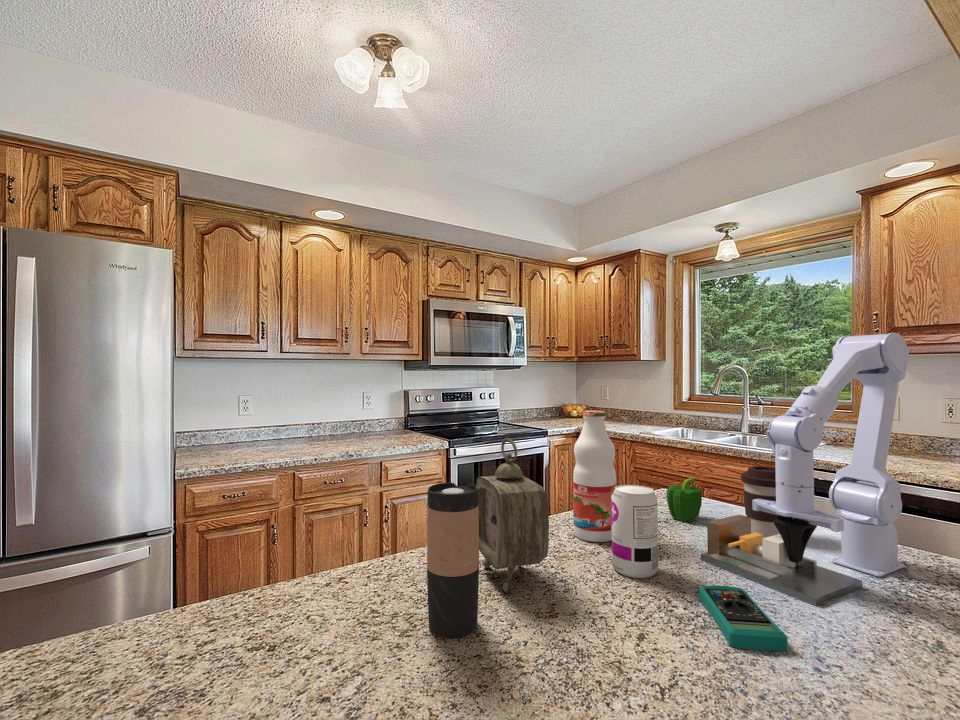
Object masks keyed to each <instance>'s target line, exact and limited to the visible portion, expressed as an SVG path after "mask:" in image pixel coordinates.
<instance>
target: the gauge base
mask: <svg viewBox="0 0 960 720" xmlns="http://www.w3.org/2000/svg"><path fill="white" fill-rule="evenodd" d="M706 524H707V525H706V526H707V527H706V529H707V532H706V533H707V536H706V537H707V543H706V544H707V552H703V553H700V561H703V562H704V561H705V562H704V563H707V564H709V563H710V565H713V566H714V567H716V568H719V567H720V569H723V570H724V569H725V571H727V572H729V571H730V573H732V572H733V573H732V574H734V573H735V575H737V576H739V575H740V576H739V577H742V578H744V577H745V579H747V578H748V579H747V580H749V579H751V580H750V581H752V580H753V581H752V582H754V581H756V582H755V583H757V582H758V583H757V584H759V583H761V584H760V585H762V584H763V585H762V586H764V585H765V587H767V588H769V587H770V588H769V589H772V588H773V589H772V590H774V589H775V591H777V590H778V591H777V592H779V591H780V593H782V592H783V593H782V594H784V593H785V595H787V594H788V595H787V596H789V595H790V597H792V596H793V597H792V598H794V597H795V598H794V599H797V600H799V599H800V601H802V602H804V603H807V604H810V605H812V606H814V607H818V606H820V605H822V604H825V603H827V602H830V601H832V600H835V599H838V598H840V597H843V596H845V595H847V594H851V593H853V592H855V591H858V590H860V589H863V579H859V578H856V577H852V576H850V575H846V574H843V573H840V572H838V571H834V570H832V569H828V568H826V567H823V566H820V565H817V564H818V561H816V560H814V559H810V558H808V557H806V556H803V559H802V561H801V562H797V563H796V567H790V566H787V565H784V564H781V563H778V562H776V561H773V560H770V559H767V558H764V557H761V556H758V555H755V554H753V553H750V552H747V551H744V550H741V549H740V545H738V546H735V547H728V544H729V543H733V542H737V541H740V540H739V537H740V536H744V535H748V534H751V518H750V517H747V516H746V515H743V514H736V515H732V516H727V517H722V518H717V519H713V520H709V521H707V522H706ZM817 605H818V606H817Z"/></svg>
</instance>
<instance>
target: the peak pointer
mask: <svg viewBox="0 0 960 720" xmlns="http://www.w3.org/2000/svg"><path fill="white" fill-rule="evenodd" d="M762 538H763V534H759V533H756V532H755V533H752V534H748V535H744V536H740V537H739V540H740V541H737V542H733V543H729V544H728V547H735V546H738V545H740V549H741V550H744V551H747V552H750V553H752V548H753V546H754V545H755V544H757V545H760V546H762Z"/></svg>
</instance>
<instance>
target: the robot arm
mask: <svg viewBox="0 0 960 720" xmlns="http://www.w3.org/2000/svg"><path fill="white" fill-rule="evenodd" d="M909 354H910V349H909V347H908V345H907V343H906V340H905V339H904V338H903V336H902V335H900V334H899V333H897V332H889V333H882V334H881V333H880V334H866V335H865V334H863V335H843V336H840V337H839V338H838V339H837V340H836V342H835V344H834V345H833V346H832V357H833V359H832V360H831V362H830V363H829V365H828V366H827V368H826V370H825V371H824V373H823V374H822V375H821V377H820V379H819V381H818V382H817V384H816V385H810V386H806V387H804V388H803V389H802V390H801V394H799V396H798V397H797V398H796V399H795V401H794V402H793V403H792V404H791V406H790V407H789V409H788V410H786V412H785V413H784V415H783V414H782V415H778V416H776V417H775V418H773V419H772V420H771V421H770V422H769V425H768V429H767V430H766V436H767V439H768V441H769V443H770V445H771V453H772V454H773V456H774V457H775V462H774V463H775V465H774V466H775V467H774V468H776V502H775V501H768V500H763V499H754V500H752V509H753V510H755V511H763V512H767V513H771V514H774V515H778V517H777V519H775V520H774V525H775V526H776V528H777V529H778V531H779V533H780V535H781V537H782V539H783V542H784V544H785V547H786V550H787V554H788V557H789V561H791V562H794V563H797V562H801V561H802V559H803V557H804V554H805V551H806V547H807V545H808V542H809V540H810V538H811V537H812V535H813V533H814V531H815V530H816V529H817V527H821V528H825V529H828V530H830V531H831V532H835V533H840V537H841V538H840V539H841V541H840V544H841V545H840V546H841V547H840V550H841V551H840V552H841V555H840V556H837V557H833V558H832V559H830V560H831V563H833V564H837V565H840V566H844V567H847V568H848V569H849V568H850V569H853V570H855V571H859V572H862V573H865V574H869V575H872V576H875V577H878V578H879V577H883V576H887V575H888V574H890V573H893V572H896V571H898V570H901V569H904V568H905V564H903V563H900V562H899V555H898V554H899V552H898V551H899V548H898V546H899V545H898V541H899V539H898V530H897V529H896V527H895V525H894V523H895V521H896V520H897V519H899V517H900V515H902V510H903V502H902V497H901V494H902V493H901V490H902V485H901V484H900V482H899V481H898V480H896V479H895V478H894V477H893V476H892V475H891V474H890V473H889V472H887V470H886V468H887V463H888V456H889V449H890V443H891V437H892V430H893V424H894V418H895V417H894V416H895V410H896V406H897V405H896V404H897V398H898V392H899V385H900V382H901V381H903V380H905V377H906V372H907V367H908V360H909ZM852 379H854V380H855V381H856V380H857V381H859V382H860V383H861V384H862V385H863V389H862V395H861V401H860V407H859V411H858V412H859V413H858V418H857V424H856V425H857V426H856V432H855V436H854V443H853V450H852V455H851V461H850V464H848V465H846V466H844V467H842V468H840V469H838V470H836V473H835V478H834V480H833V482H832V484H831V485H830V487H829V490H828V497H829V498H828V499H829V501H830V504H831V507H833V508H834V510H836V515H838V516H840V517H838V516H834V515H831V514H828V513H826V512H823V511H819V510H817V509H815V479H814V478H815V477H814V475H815V472H814V471H815V470H814V450H816V449H817V448H818V447H819V446H820V445H821V444H822V439H823V432H824V431H825V428H826V427H825V424H826V422H827V421H828V420H829V418H830V417H831V415H832V414H833V413H834V412H835V410H836V409H837V408H838V406H839V400H838V397H837V396H838V395H839V394H840V392H841V391H842V390H844V388H845V387H846V386H847V385H848V384H849V383H850V382H851V381H852ZM863 482H865V483H863ZM868 483H870V484H868ZM872 484H873V485H872ZM874 484H875V485H874Z"/></svg>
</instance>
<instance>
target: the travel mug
mask: <svg viewBox="0 0 960 720" xmlns="http://www.w3.org/2000/svg"><path fill="white" fill-rule="evenodd" d="M426 507H427V515H426V516H427V518H426V520H427V521H426V523H427V524H426V526H427V527H426V533H427V534H426V578H427V579H426V582H427V584H426V585H427V588H426V589H427V615H428V616H427V618H428V629H429V630H430V632H431V633H432V634H434V635H435V636H438V637H440V638H443V639H444V638H445V639H460V638H465V637H467V636H469V635H471V634H472V633H474V632H475V631H476V629H477V627H478V617H479V613H478V612H479V586H480V584H479V583H480V579H479V578H480V550H479V508H478V487H477V486H476V484H473V483H468V484H467V485H466V486H459V485H457V484H456V483H454V482H442V483H441V482H440V483H436V484H433V485H430V486H429V487H428V488H427V506H426Z"/></svg>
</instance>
